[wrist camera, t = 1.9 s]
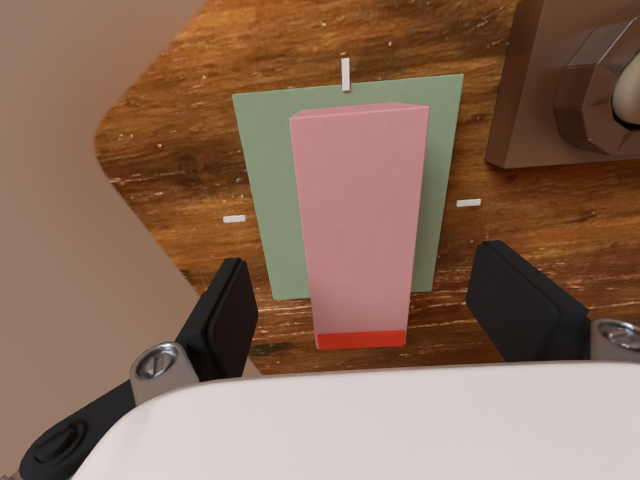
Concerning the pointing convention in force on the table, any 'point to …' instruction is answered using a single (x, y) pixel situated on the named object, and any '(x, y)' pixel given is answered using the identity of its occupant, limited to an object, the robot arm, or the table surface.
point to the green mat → (280, 179)
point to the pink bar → (360, 217)
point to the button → (628, 92)
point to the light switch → (565, 84)
